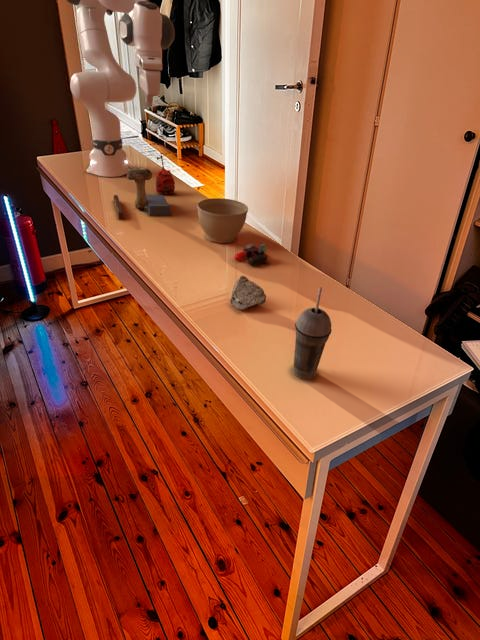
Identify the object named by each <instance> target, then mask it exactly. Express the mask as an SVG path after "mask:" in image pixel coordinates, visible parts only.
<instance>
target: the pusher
mask: <svg viewBox="0 0 480 640" xmlns="http://www.w3.org/2000/svg"><path fill="white" fill-rule="evenodd" d="M146 198H147V205H146V207H145V208H146V210H147V214H148V215H149V216H150V217H155V216H156V217H157V216H159V217H161V216H170V213H171V212H170V210H171V209H170V208H171V206H170V204H169V202H168V200H167V198H166V197H165V195H163V194H162V195H161V194H146Z"/></svg>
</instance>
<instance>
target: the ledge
mask: <svg viewBox="0 0 480 640" xmlns="http://www.w3.org/2000/svg"><path fill="white" fill-rule="evenodd" d="M118 195H119V194H113V196H112V197H113V203H114V207H115V211H116V214H117V218H118V220H119V221H121V220H124V211H123V208H122V205H121V201H120V198H119V196H118Z"/></svg>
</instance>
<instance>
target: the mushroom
mask: <svg viewBox="0 0 480 640" xmlns="http://www.w3.org/2000/svg"><path fill="white" fill-rule="evenodd" d="M130 169H131V170H130V171H129V172H128V173H127V174H126V178H127V179H128V180H129V181H134V183H135V192H136V193H135V200H134V207H135V209H137V210H139V211H142V210H144V209H145V208H146V205H147V198H146V195H147V193H146V181H150V180H151V179H152V177H153V173H152V171H151V170H150V169H149V168H146V167H133V168H130Z"/></svg>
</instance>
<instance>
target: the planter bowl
mask: <svg viewBox="0 0 480 640" xmlns="http://www.w3.org/2000/svg"><path fill="white" fill-rule="evenodd" d="M196 207H197V217H198V221H199V225H200V227H201V229H202V230H203V233H204V234H205V238H206V239H207V240H209V241H211V242H213V243H217V244H227V243H231V242H234V241H235V240H236V237H237V236H238V234H240V233H241V231H242V229H243V227H244V226H245V223H246V221H247V215H248V211H249V206H248V205H246V203H243V202H242V201H239V200H236V199H231V198H220V197H218V198H217V197H214V198H213V197H211V198H204V199H202V200H200V201H199V202H198V203H197V205H196Z"/></svg>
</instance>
